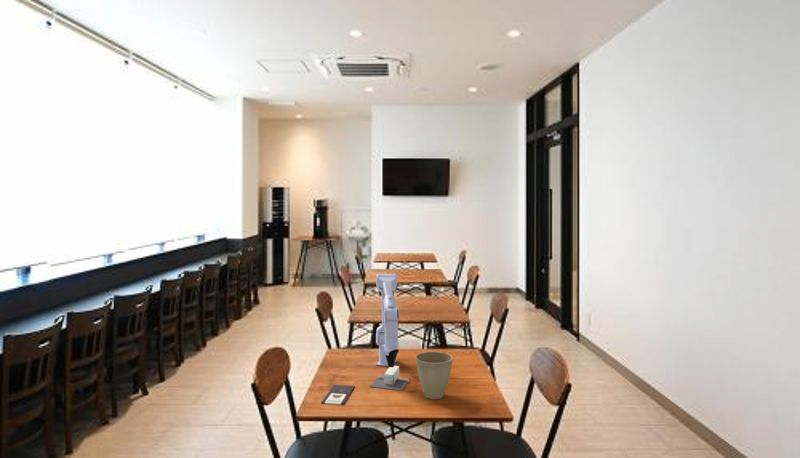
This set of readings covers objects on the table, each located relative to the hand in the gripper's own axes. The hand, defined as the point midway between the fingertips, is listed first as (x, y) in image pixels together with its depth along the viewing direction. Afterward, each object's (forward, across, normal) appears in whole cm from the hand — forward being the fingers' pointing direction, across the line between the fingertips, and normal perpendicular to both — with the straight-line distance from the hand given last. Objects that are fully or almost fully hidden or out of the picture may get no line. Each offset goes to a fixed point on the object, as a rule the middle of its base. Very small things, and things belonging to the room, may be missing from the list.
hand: (391, 366), depth 211 cm
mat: (+7, +3, 0) cm, 8 cm away
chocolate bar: (+8, +19, -16) cm, 26 cm away
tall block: (+3, -5, 0) cm, 6 cm away
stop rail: (+7, -2, 0) cm, 7 cm away
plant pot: (+7, +8, +21) cm, 24 cm away
